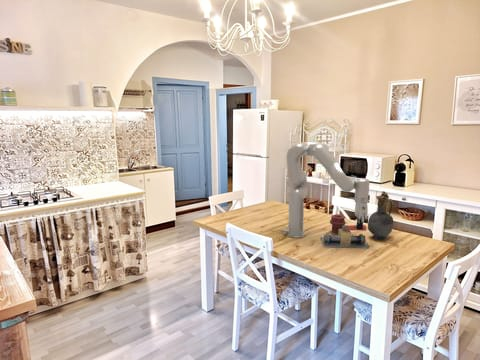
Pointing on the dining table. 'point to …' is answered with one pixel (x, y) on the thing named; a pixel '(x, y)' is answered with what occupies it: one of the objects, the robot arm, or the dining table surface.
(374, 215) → the pitcher
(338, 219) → the mechanical component
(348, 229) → the lever
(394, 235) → the dining table surface
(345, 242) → the valve body
